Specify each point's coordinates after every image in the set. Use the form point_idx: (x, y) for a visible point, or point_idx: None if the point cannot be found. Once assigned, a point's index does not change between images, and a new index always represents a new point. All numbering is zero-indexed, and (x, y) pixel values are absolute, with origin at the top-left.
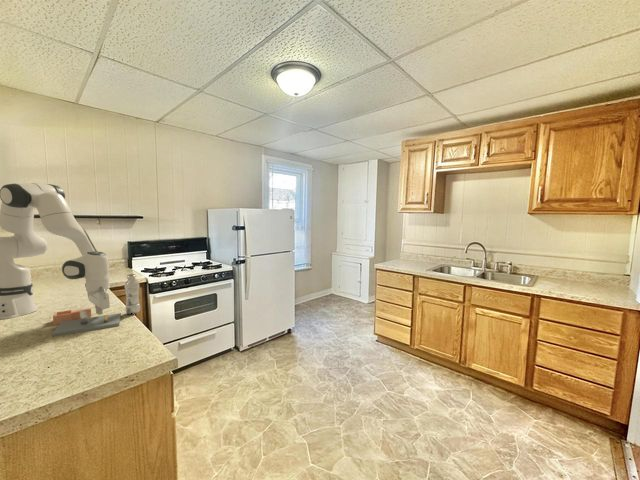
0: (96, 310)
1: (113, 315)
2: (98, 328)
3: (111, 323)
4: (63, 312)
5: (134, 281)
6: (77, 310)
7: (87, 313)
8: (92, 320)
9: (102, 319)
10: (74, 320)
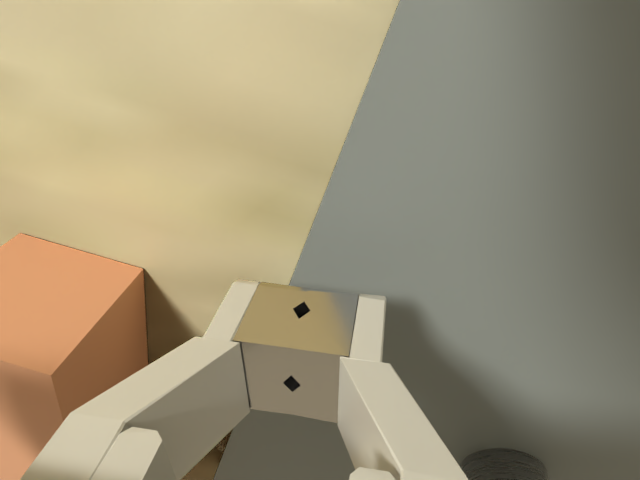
0: (262, 408)
1: (533, 56)
2: None
3: None
4: None
5: None
6: (2, 453)
7: (97, 356)
8: (463, 391)
9: (586, 309)
10: (257, 457)
